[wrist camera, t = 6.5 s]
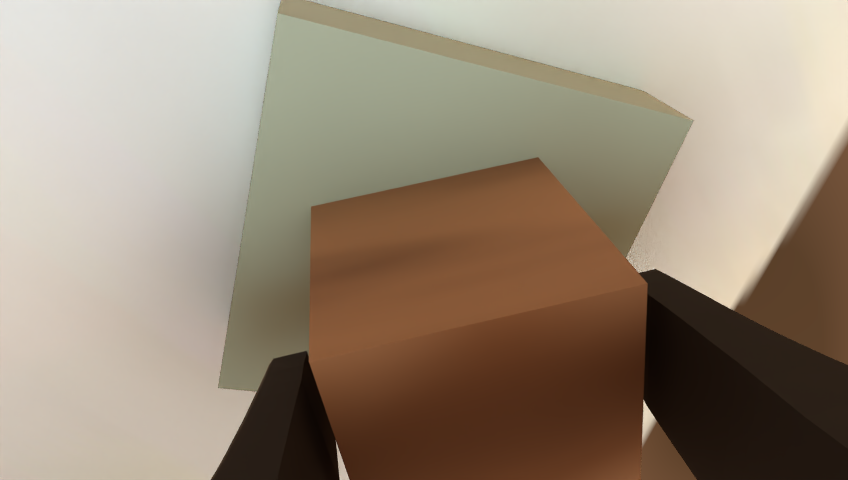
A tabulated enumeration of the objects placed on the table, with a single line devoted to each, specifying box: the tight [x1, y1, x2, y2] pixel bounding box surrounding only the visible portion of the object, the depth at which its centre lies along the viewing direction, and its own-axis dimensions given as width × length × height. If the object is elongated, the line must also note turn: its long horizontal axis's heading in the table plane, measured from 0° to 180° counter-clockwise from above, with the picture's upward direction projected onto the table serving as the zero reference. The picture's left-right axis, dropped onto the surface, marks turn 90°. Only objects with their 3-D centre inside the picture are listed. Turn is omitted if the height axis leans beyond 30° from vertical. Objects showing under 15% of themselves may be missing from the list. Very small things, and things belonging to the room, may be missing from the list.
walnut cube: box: [309, 157, 648, 480], centre depth 12 cm, size 5×5×5 cm
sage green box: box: [218, 0, 693, 391], centre depth 15 cm, size 9×9×3 cm
